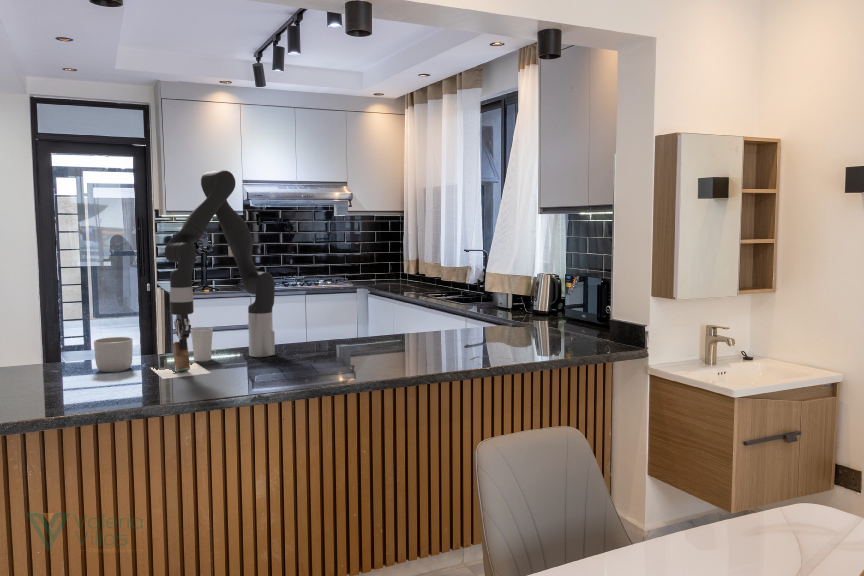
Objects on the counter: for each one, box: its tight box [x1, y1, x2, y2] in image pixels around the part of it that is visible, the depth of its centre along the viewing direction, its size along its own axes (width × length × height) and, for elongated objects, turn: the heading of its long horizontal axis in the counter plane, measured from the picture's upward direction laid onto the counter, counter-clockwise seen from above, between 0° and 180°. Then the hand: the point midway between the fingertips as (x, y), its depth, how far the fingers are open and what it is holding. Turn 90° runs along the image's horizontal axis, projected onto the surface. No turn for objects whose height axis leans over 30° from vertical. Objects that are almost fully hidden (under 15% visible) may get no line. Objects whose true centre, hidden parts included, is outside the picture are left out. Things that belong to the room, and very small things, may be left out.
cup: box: [190, 326, 214, 362], centre depth 254 cm, size 8×8×12 cm
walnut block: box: [172, 341, 190, 372], centre depth 233 cm, size 4×4×10 cm
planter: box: [93, 336, 134, 373], centre depth 236 cm, size 12×12×11 cm
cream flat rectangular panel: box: [150, 362, 211, 380], centre depth 236 cm, size 16×20×1 cm
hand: (183, 349), depth 231 cm, fingers closed
